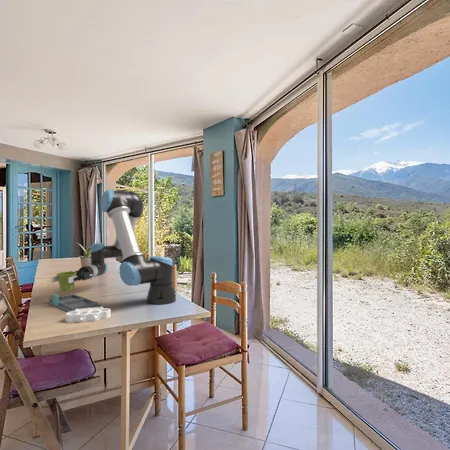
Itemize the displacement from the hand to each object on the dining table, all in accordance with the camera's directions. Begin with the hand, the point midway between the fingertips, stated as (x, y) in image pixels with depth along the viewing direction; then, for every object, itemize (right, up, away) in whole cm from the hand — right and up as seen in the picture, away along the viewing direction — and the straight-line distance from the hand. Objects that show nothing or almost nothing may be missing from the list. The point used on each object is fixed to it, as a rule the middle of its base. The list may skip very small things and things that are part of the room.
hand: (60, 280), depth 163 cm
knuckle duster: (+23, -13, -21) cm, 33 cm away
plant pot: (+1, -6, +5) cm, 8 cm away
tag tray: (+6, -12, 0) cm, 14 cm away
